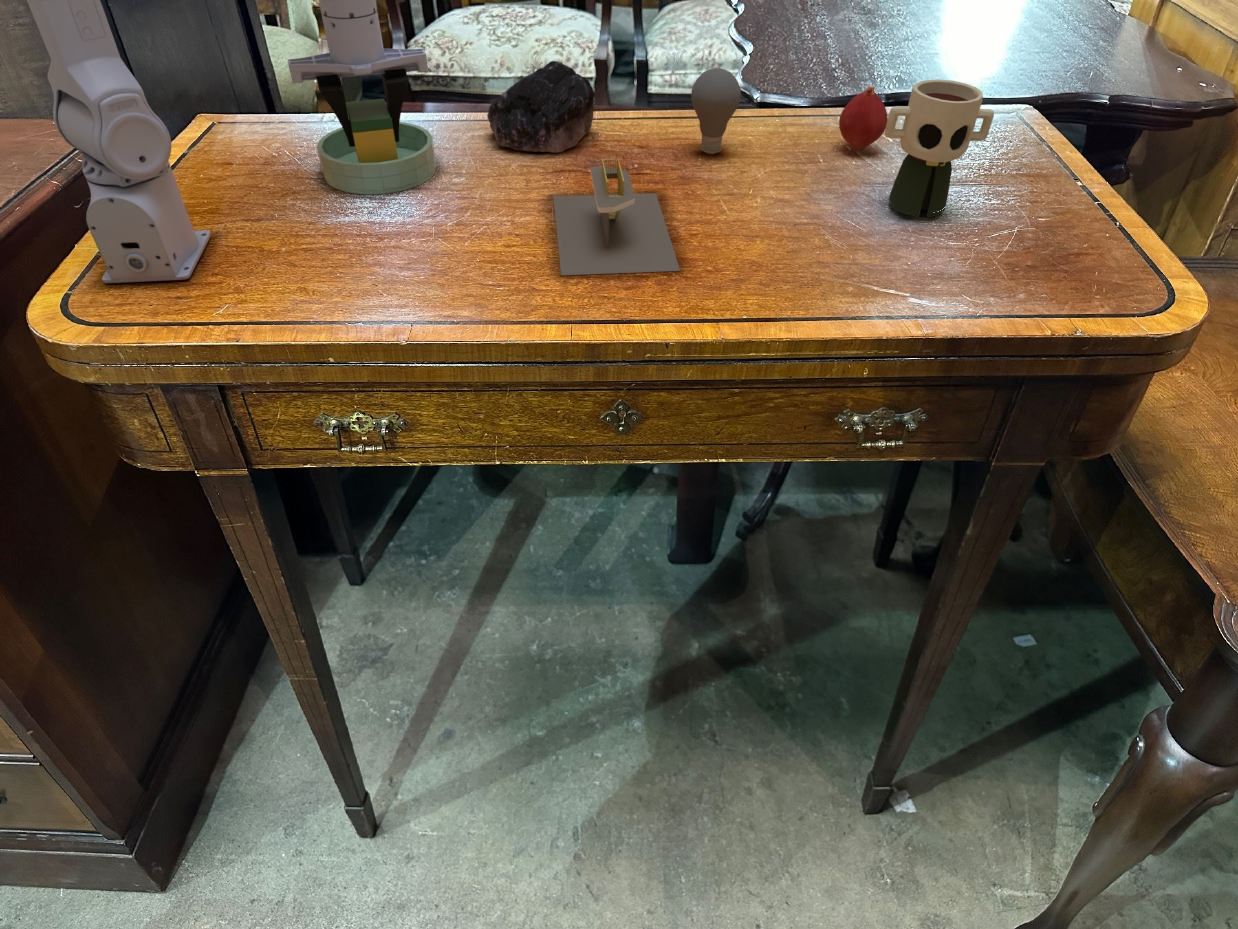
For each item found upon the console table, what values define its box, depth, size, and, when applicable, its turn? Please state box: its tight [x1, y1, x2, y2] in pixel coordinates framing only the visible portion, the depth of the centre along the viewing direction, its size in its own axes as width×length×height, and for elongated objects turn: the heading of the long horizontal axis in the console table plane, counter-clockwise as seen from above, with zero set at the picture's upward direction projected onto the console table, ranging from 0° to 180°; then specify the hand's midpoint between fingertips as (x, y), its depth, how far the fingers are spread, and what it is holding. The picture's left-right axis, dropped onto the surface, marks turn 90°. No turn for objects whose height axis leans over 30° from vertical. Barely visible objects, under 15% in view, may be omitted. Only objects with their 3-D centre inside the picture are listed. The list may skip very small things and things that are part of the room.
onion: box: [838, 85, 888, 152], centre depth 103 cm, size 6×6×8 cm
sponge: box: [345, 98, 398, 163], centre depth 94 cm, size 6×4×5 cm
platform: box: [552, 158, 681, 276], centre depth 86 cm, size 12×18×7 cm, turn 6°
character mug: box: [884, 79, 995, 218], centre depth 89 cm, size 11×7×13 cm, turn 87°
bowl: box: [316, 121, 437, 195], centre depth 97 cm, size 13×13×4 cm
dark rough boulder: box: [486, 60, 595, 153], centre depth 104 cm, size 13×14×10 cm
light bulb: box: [690, 67, 742, 155], centre depth 101 cm, size 6×6×10 cm
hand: (373, 141), depth 95 cm, fingers closed on sponge, 4 cm apart
